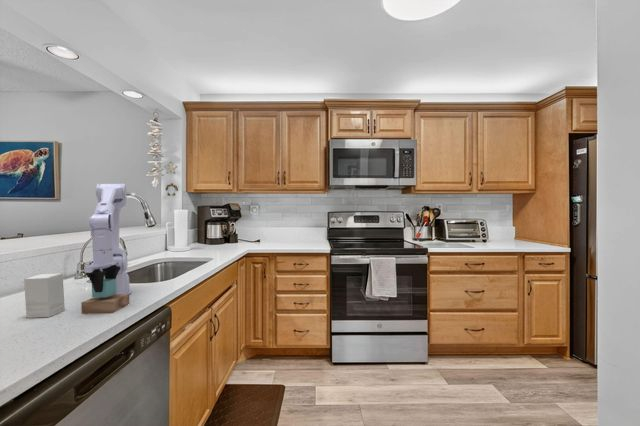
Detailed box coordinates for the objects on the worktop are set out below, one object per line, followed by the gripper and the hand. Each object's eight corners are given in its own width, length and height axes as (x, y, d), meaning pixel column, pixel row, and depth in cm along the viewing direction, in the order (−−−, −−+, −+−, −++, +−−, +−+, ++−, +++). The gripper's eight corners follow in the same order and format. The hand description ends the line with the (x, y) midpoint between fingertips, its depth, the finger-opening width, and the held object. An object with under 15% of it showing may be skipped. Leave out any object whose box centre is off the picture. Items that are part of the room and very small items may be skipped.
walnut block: (101, 305, 123) (100, 294, 122) (129, 305, 123) (129, 293, 122) (81, 314, 113) (81, 302, 112) (112, 314, 113) (112, 301, 112)
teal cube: (102, 293, 120) (102, 278, 120) (116, 293, 120) (116, 278, 120) (92, 297, 115) (91, 282, 115) (106, 297, 115) (105, 282, 115)
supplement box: (65, 310, 117) (63, 272, 116) (49, 317, 109) (47, 277, 109) (43, 311, 117) (41, 273, 116) (25, 318, 109) (23, 278, 109)
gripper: (98, 252, 109) (100, 295, 110) (127, 246, 124) (129, 284, 124) (77, 252, 110) (79, 295, 110) (109, 247, 124) (110, 284, 125)
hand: (104, 289), depth 117 cm, fingers closed on teal cube, 5 cm apart
